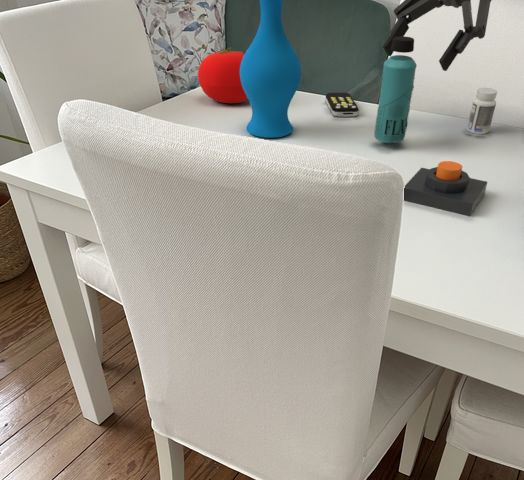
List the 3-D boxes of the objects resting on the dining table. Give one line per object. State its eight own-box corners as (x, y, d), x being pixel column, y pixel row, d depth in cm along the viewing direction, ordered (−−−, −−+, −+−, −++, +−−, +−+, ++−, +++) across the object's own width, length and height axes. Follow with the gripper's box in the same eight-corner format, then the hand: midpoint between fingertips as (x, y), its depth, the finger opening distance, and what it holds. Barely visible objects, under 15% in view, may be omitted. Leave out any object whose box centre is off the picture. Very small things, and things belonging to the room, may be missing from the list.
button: (462, 175, 98) (465, 163, 97) (455, 183, 96) (458, 172, 94) (439, 170, 100) (442, 159, 99) (432, 178, 97) (435, 167, 96)
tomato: (233, 113, 133) (231, 59, 125) (190, 101, 139) (186, 49, 132) (266, 100, 140) (266, 49, 133) (224, 89, 147) (222, 39, 139)
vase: (301, 140, 120) (309, -16, 101) (241, 142, 119) (238, -16, 101) (295, 121, 129) (301, -26, 111) (239, 122, 128) (236, -26, 110)
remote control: (349, 99, 141) (349, 91, 139) (359, 117, 131) (360, 108, 130) (324, 100, 140) (324, 91, 139) (332, 117, 131) (333, 108, 129)
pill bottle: (492, 130, 125) (503, 90, 120) (482, 136, 123) (492, 95, 117) (472, 125, 128) (482, 85, 122) (462, 130, 125) (471, 90, 120)
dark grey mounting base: (484, 193, 101) (490, 171, 99) (469, 216, 95) (475, 193, 92) (419, 178, 106) (423, 157, 103) (400, 199, 99) (404, 177, 97)
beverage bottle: (378, 151, 116) (393, 42, 103) (368, 139, 121) (381, 34, 108) (408, 149, 116) (427, 41, 103) (397, 138, 121) (414, 32, 108)
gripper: (542, -18, 103) (473, 85, 106) (431, -33, 118) (372, 58, 120) (536, -52, 97) (463, 59, 100) (419, -63, 112) (358, 33, 114)
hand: (413, 58), depth 110 cm, fingers open, 13 cm apart
